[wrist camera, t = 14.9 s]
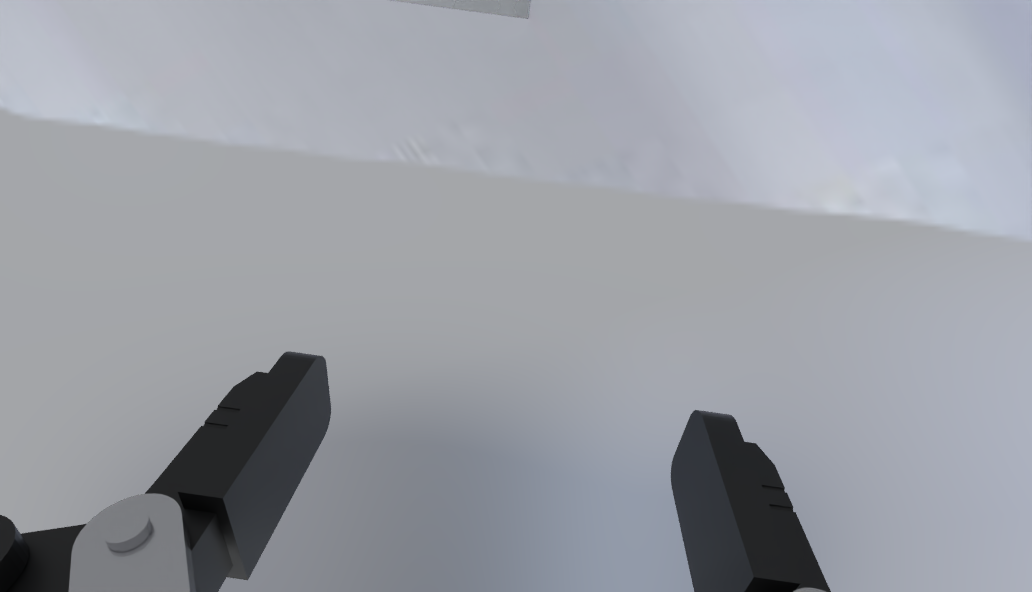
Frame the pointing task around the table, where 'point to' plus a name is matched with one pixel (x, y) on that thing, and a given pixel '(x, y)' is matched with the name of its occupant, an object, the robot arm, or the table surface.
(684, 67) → the table surface
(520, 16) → the flange
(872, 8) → the table surface
